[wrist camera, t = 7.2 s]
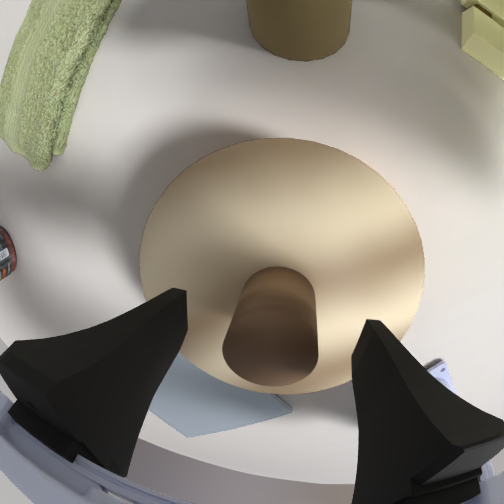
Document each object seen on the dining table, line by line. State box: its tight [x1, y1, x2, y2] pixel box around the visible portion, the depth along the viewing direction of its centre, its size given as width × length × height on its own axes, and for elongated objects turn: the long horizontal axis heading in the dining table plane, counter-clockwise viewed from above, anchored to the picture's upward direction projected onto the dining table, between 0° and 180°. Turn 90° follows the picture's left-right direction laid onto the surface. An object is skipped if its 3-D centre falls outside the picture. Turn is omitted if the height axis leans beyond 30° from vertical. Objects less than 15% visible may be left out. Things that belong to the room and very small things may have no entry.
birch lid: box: [139, 138, 425, 394], centre depth 12 cm, size 15×15×5 cm
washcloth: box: [0, 0, 121, 171], centre depth 13 cm, size 13×18×3 cm
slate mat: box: [148, 352, 292, 438], centre depth 25 cm, size 16×16×1 cm
